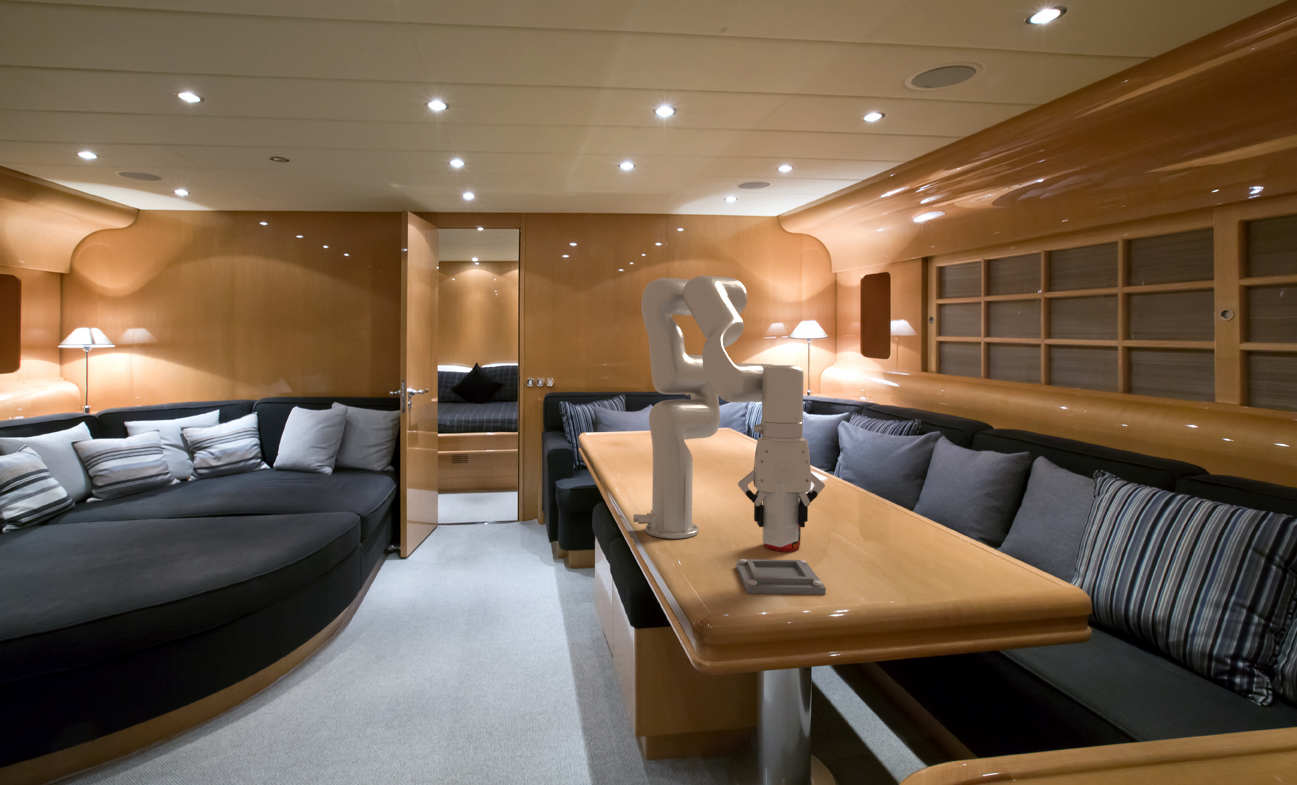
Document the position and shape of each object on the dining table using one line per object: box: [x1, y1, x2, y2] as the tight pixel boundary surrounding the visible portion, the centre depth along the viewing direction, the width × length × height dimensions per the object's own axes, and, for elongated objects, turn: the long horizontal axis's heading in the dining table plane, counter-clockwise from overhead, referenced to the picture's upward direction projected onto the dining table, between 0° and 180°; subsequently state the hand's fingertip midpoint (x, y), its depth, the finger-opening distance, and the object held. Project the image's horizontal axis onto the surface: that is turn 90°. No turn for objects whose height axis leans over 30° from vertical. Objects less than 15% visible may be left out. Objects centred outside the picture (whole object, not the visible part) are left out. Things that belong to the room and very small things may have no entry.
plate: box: [735, 558, 827, 595], centre depth 121 cm, size 14×14×2 cm
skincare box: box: [762, 482, 799, 547], centre depth 120 cm, size 6×4×12 cm
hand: (780, 524), depth 120 cm, fingers closed on skincare box, 7 cm apart
